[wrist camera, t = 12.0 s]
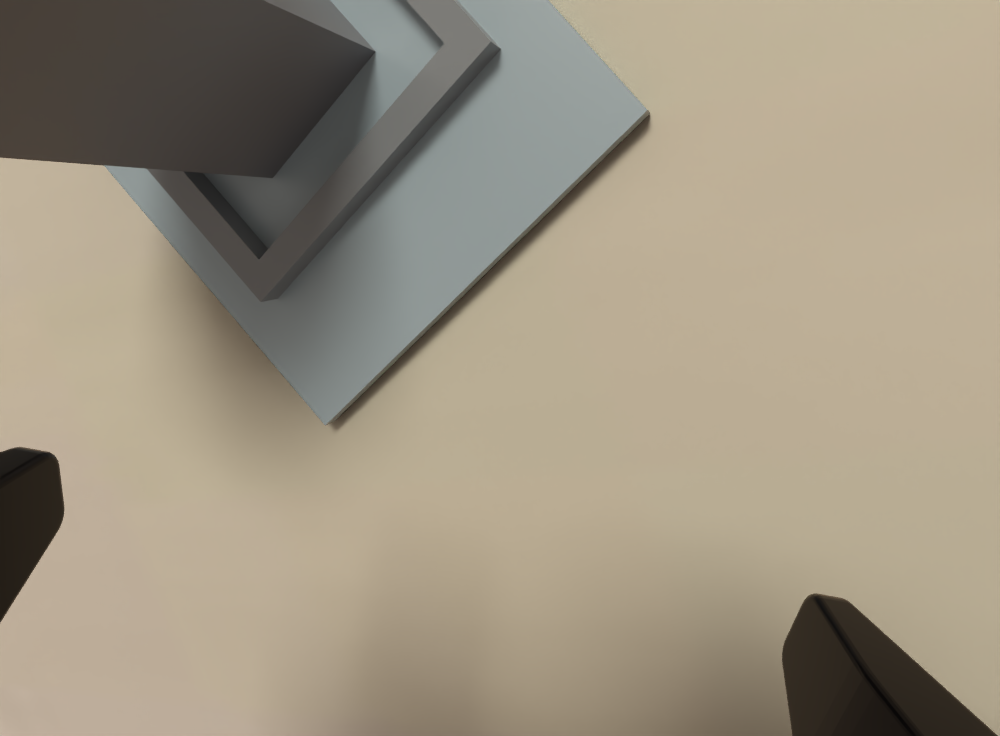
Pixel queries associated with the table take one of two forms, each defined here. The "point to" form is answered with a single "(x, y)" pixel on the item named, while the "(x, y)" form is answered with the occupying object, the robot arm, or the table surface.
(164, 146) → the brick
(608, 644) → the table surface
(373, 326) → the charging dock
